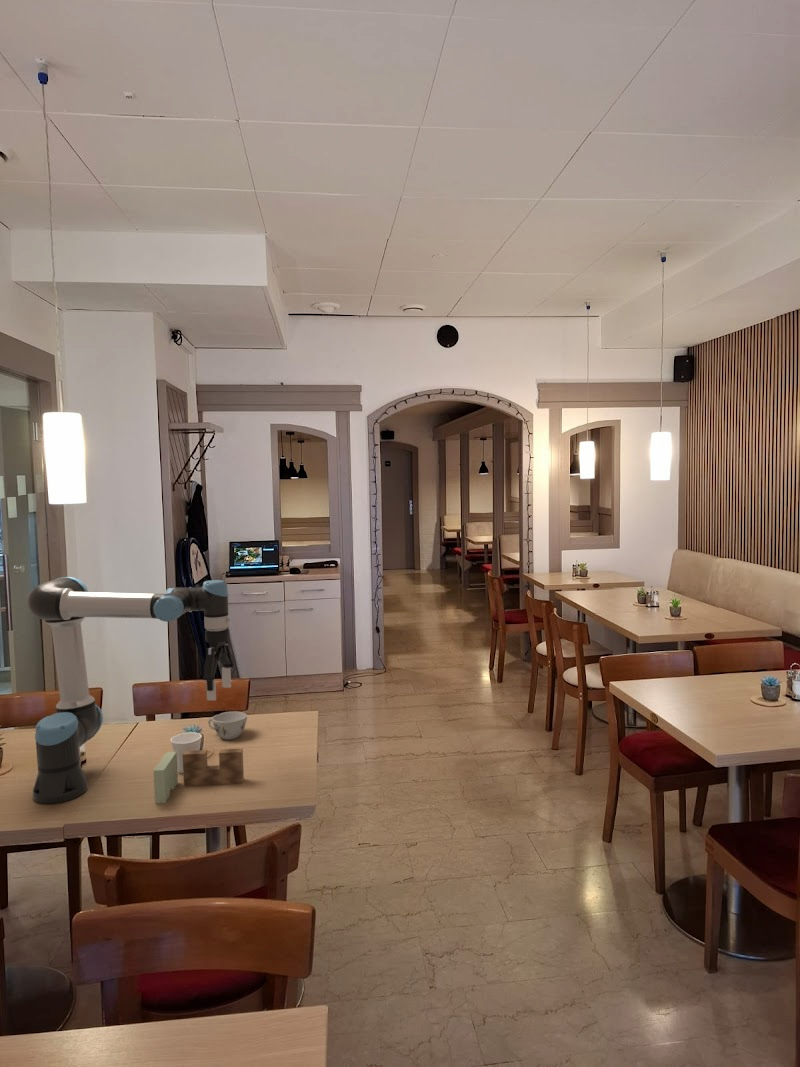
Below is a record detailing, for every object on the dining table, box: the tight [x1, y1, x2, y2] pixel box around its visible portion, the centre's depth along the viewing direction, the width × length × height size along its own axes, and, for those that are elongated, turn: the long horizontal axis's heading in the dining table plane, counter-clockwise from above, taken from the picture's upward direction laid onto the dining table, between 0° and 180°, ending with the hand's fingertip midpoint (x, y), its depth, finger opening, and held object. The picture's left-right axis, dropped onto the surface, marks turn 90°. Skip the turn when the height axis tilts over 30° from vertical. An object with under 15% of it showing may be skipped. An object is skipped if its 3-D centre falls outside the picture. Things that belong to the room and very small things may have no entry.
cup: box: [170, 731, 203, 774], centre depth 232 cm, size 10×10×11 cm
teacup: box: [207, 710, 248, 741], centre depth 261 cm, size 15×12×8 cm
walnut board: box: [182, 748, 245, 786], centre depth 222 cm, size 18×3×10 cm, turn 93°
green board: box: [153, 751, 179, 804], centre depth 215 cm, size 14×3×10 cm, turn 3°
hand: (219, 693), depth 228 cm, fingers open, 13 cm apart
